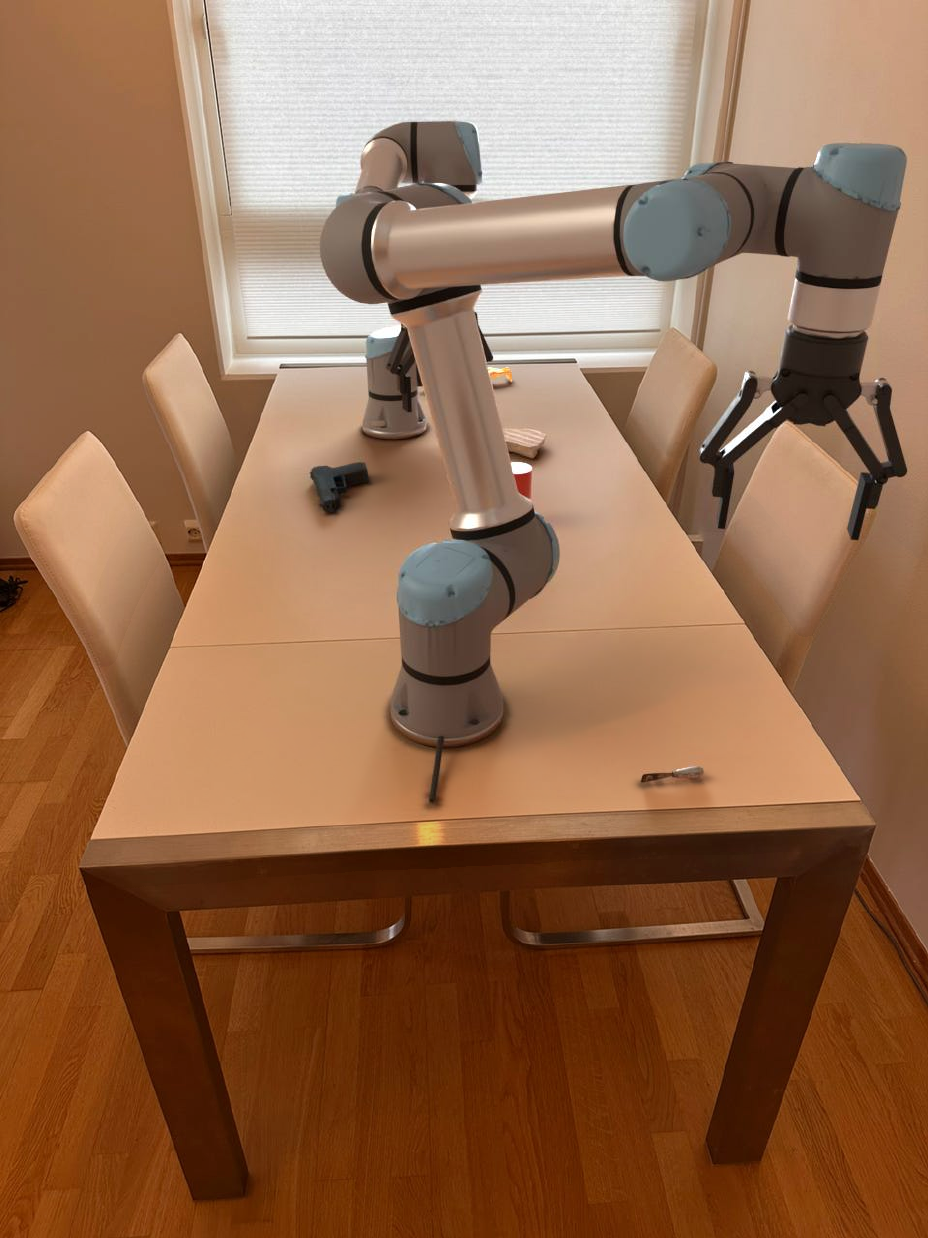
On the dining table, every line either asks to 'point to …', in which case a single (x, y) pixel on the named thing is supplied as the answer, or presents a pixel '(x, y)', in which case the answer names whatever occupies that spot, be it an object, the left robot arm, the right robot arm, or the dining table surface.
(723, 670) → the dining table surface
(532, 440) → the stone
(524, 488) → the can
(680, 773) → the putty knife
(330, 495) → the handgun
